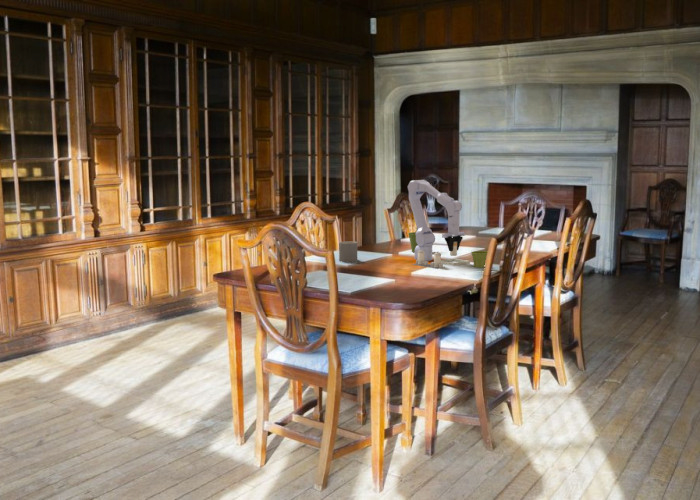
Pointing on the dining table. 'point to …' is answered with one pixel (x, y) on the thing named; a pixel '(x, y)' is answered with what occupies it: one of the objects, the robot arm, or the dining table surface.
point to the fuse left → (421, 256)
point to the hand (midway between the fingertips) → (453, 250)
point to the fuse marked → (454, 249)
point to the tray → (459, 261)
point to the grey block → (347, 251)
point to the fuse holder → (431, 265)
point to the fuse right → (437, 260)
